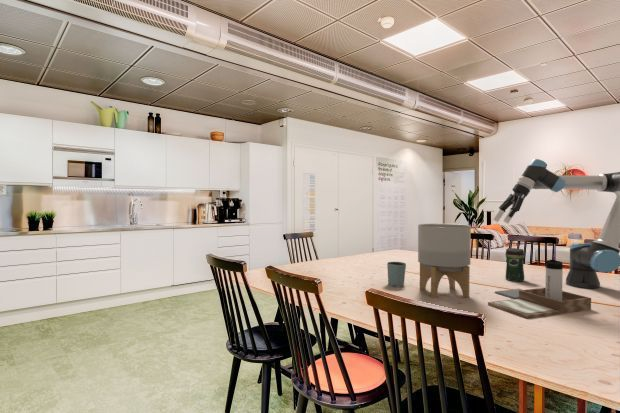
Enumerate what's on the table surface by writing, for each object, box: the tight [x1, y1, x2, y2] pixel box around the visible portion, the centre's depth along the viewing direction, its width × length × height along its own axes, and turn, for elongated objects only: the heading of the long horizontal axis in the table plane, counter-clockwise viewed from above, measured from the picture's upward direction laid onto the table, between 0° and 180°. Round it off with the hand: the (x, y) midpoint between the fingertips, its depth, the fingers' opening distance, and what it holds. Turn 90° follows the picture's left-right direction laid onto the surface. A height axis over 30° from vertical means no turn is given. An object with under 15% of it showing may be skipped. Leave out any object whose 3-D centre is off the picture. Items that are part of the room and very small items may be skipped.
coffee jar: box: [504, 247, 525, 282], centre depth 214 cm, size 10×8×19 cm
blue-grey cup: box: [386, 261, 407, 287], centre depth 203 cm, size 10×10×12 cm
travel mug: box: [544, 259, 564, 301], centre depth 164 cm, size 6×7×20 cm
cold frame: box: [487, 287, 592, 320], centre depth 161 cm, size 36×20×5 cm, turn 109°
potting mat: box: [494, 288, 523, 299], centre depth 182 cm, size 16×12×1 cm
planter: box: [417, 223, 472, 299], centre depth 186 cm, size 25×25×34 cm
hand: (500, 221), depth 192 cm, fingers open, 13 cm apart
